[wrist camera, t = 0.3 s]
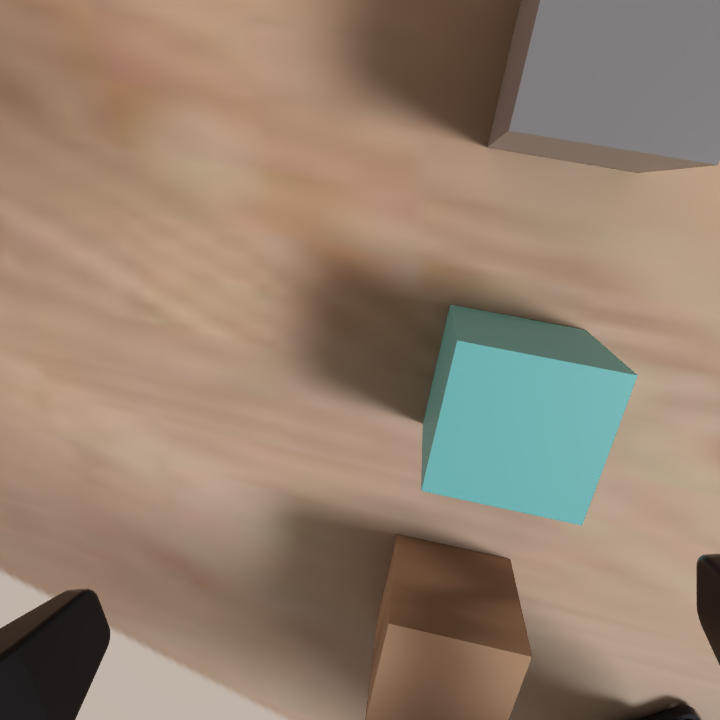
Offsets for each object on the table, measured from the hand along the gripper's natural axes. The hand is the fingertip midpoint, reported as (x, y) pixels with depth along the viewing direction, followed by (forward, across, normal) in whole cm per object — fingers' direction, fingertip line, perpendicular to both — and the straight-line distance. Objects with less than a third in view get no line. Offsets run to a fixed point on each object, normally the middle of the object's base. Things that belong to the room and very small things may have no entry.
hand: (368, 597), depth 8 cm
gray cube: (+13, -7, -8) cm, 17 cm away
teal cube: (+13, -3, +2) cm, 14 cm away
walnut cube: (+13, 0, +11) cm, 17 cm away
